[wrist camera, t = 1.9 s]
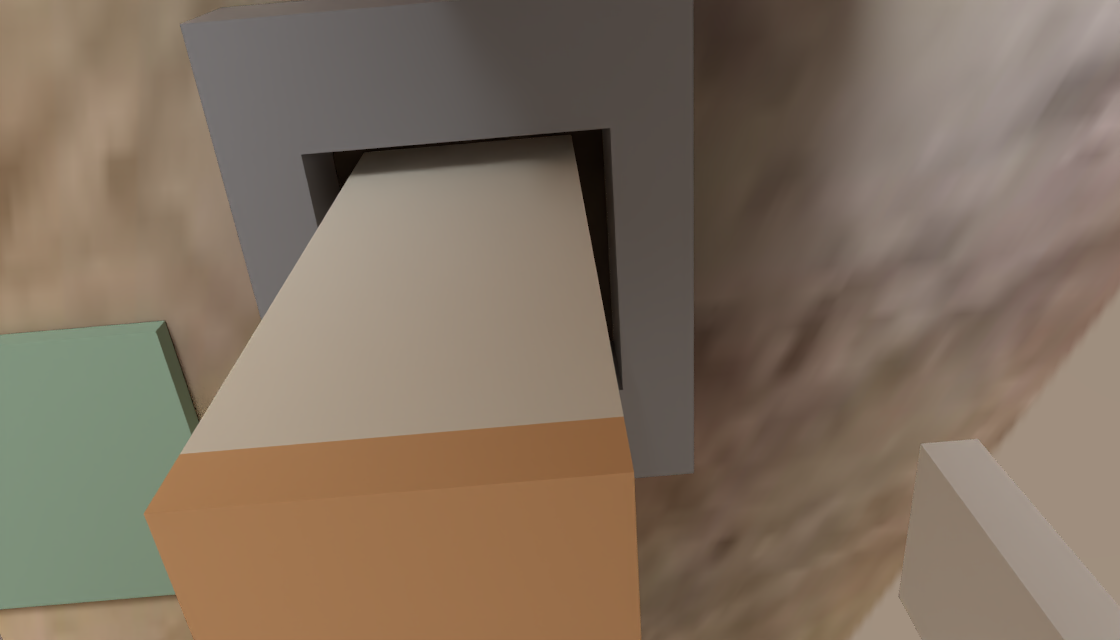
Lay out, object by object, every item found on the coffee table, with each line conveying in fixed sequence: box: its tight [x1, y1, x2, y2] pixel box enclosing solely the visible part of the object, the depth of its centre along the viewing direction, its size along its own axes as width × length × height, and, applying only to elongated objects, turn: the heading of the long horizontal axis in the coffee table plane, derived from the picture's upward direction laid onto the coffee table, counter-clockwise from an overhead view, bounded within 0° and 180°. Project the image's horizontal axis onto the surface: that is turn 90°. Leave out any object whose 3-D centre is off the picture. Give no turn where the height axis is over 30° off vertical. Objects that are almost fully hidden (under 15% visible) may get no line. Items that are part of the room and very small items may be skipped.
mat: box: [0, 321, 199, 609], centre depth 24 cm, size 9×9×1 cm
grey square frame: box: [180, 0, 694, 478], centre depth 20 cm, size 12×10×2 cm
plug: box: [144, 135, 641, 640], centre depth 15 cm, size 5×5×13 cm
